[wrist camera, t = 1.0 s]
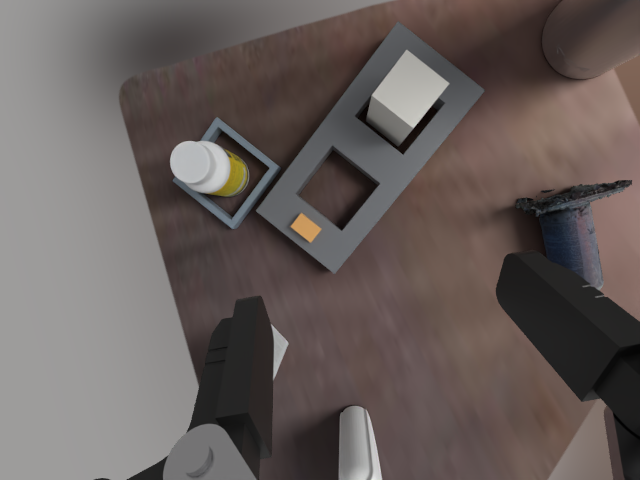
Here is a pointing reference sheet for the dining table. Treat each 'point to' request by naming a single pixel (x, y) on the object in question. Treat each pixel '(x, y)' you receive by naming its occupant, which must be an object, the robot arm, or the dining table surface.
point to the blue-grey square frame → (256, 193)
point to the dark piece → (573, 227)
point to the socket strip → (373, 141)
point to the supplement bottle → (209, 168)
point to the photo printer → (357, 446)
